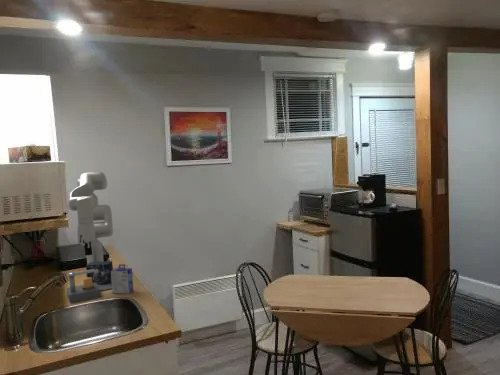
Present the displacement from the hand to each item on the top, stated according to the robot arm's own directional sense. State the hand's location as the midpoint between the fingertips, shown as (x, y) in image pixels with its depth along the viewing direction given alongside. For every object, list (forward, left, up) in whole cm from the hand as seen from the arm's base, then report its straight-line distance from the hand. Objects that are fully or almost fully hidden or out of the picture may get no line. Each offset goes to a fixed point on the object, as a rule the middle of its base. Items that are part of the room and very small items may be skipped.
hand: (88, 254), depth 237 cm
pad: (-1, +8, -20) cm, 21 cm away
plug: (+6, -2, -20) cm, 21 cm away
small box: (-12, +7, -20) cm, 25 cm away
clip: (+6, -4, -8) cm, 11 cm away
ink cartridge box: (+12, +14, -20) cm, 27 cm away
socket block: (+6, -5, -20) cm, 21 cm away
